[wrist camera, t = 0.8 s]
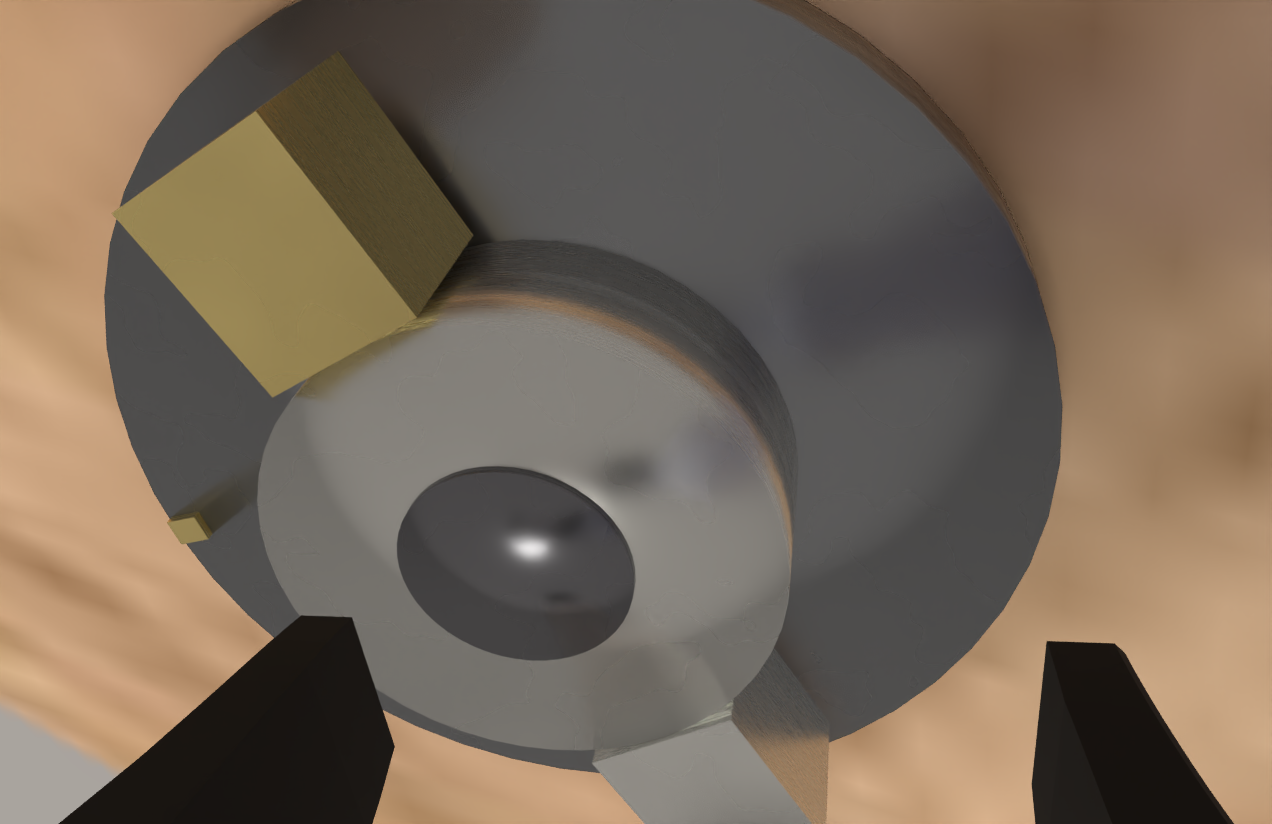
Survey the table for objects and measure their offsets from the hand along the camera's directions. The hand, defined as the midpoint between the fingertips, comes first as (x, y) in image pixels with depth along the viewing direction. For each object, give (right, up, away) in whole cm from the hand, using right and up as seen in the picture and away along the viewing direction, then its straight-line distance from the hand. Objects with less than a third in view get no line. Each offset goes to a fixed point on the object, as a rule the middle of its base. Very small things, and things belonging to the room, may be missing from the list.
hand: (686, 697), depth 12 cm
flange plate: (-2, +3, +11) cm, 11 cm away
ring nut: (-2, +2, +9) cm, 10 cm away
